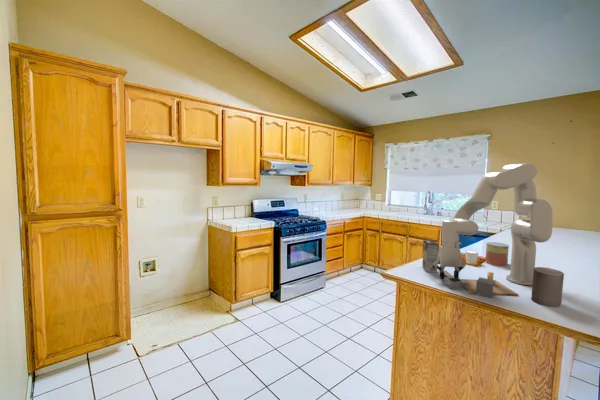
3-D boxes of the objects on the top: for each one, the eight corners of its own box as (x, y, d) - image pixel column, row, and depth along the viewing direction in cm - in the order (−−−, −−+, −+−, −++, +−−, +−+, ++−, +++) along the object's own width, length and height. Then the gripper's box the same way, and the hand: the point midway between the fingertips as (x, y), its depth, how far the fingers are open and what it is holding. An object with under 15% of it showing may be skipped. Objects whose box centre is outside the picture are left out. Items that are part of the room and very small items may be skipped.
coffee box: (421, 266, 166) (422, 239, 165) (433, 267, 165) (434, 240, 164) (425, 271, 157) (426, 243, 156) (437, 272, 156) (439, 243, 155)
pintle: (491, 282, 140) (491, 272, 139) (493, 283, 137) (494, 273, 137) (486, 281, 140) (486, 272, 140) (488, 283, 138) (489, 273, 137)
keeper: (478, 289, 132) (479, 277, 132) (494, 293, 128) (495, 280, 128) (475, 294, 127) (476, 281, 126) (491, 298, 123) (492, 284, 123)
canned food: (508, 267, 166) (509, 247, 165) (485, 264, 172) (486, 244, 171) (507, 262, 175) (508, 243, 174) (485, 259, 181) (486, 241, 180)
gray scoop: (465, 289, 132) (465, 282, 132) (449, 288, 133) (450, 282, 133) (449, 276, 150) (449, 270, 149) (436, 276, 150) (436, 270, 150)
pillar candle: (525, 297, 124) (527, 264, 122) (545, 297, 124) (548, 263, 123) (545, 308, 114) (549, 272, 113) (568, 307, 115) (571, 271, 113)
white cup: (462, 261, 177) (462, 250, 177) (472, 261, 178) (473, 250, 177) (469, 264, 170) (470, 253, 170) (480, 264, 171) (481, 253, 170)
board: (495, 282, 142) (496, 280, 142) (518, 296, 125) (518, 294, 125) (454, 280, 144) (454, 278, 144) (470, 293, 127) (470, 292, 127)
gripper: (464, 242, 145) (463, 276, 147) (429, 242, 147) (428, 276, 149) (471, 246, 138) (470, 282, 139) (434, 245, 140) (433, 281, 141)
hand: (448, 278), depth 144 cm, fingers open, 6 cm apart
